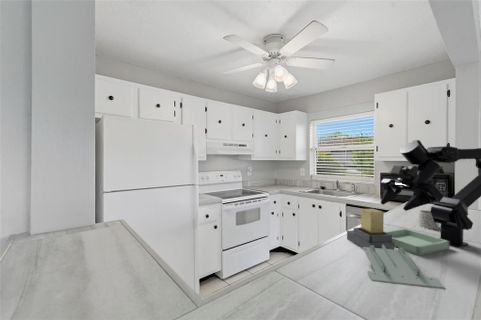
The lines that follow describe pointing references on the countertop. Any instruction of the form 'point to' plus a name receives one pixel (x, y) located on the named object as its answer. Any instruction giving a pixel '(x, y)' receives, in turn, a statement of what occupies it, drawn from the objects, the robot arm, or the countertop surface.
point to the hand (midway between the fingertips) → (392, 206)
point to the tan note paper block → (372, 221)
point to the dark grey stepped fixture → (370, 239)
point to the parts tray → (417, 242)
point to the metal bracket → (397, 268)
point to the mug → (427, 220)
